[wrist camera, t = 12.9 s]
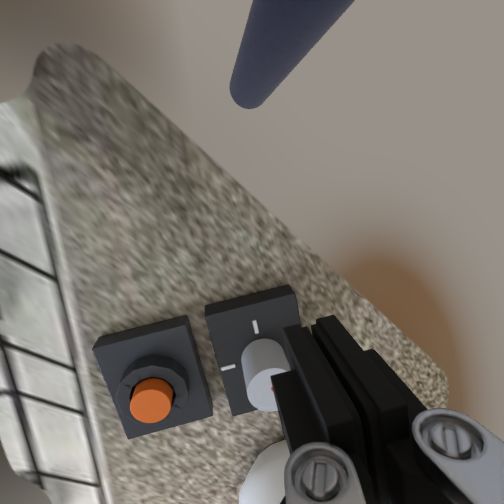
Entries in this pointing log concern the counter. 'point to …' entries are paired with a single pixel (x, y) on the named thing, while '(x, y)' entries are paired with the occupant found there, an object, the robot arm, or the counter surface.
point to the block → (155, 372)
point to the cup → (266, 476)
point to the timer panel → (247, 334)
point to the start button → (151, 400)
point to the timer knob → (262, 371)
